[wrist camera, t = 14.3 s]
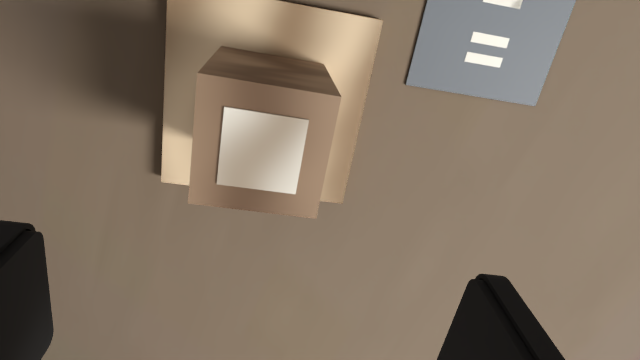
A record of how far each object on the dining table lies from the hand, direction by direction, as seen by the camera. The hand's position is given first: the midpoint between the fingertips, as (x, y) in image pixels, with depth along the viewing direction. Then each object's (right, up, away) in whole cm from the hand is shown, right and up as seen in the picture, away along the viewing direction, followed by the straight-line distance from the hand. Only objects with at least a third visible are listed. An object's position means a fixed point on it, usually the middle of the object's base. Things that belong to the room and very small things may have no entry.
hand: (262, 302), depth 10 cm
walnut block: (-2, +7, +17) cm, 18 cm away
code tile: (+12, +12, +17) cm, 24 cm away
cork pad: (-2, +8, +17) cm, 19 cm away
